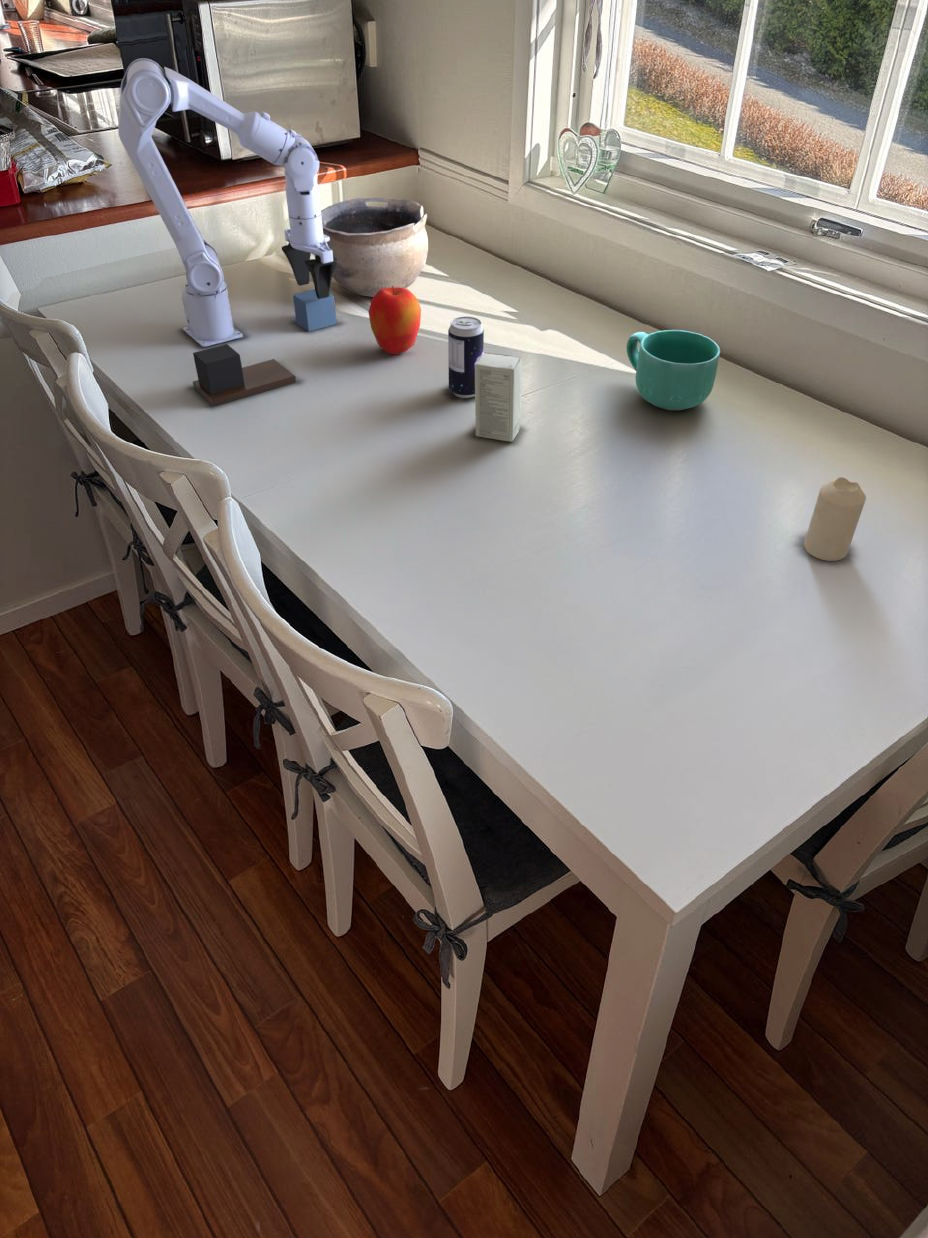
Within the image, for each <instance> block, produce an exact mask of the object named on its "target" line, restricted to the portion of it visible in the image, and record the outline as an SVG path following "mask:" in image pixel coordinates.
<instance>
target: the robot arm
mask: <svg viewBox="0 0 928 1238" xmlns="http://www.w3.org/2000/svg"><path fill="white" fill-rule="evenodd" d="M163 67H164V68H162V66H161V65H159V63H158V62H156V61H154V60H152V59H150V58H144V57H142V58H137V59H134V60H133V61H132V62H130V64H129V65H128V66H127V69H126V71H125V73H124V75H123V77H122V80H121V82H120V83H121V84H120V94H119V95H120V96H119V111H118V126H117V128H118V129H117V131H118V138H119V141H120V142H121V144H122V146H123V148H124V150H125V151H126V154H127V156H128V158H129V159H130V161H131V163H132V165H133V166H134V168H135V171H136V172H137V175H138V176H139V178H140V180H141V182H142V184H143V186H144V188H145V189H146V191H147V193H148V195H149V197H150V199H151V201H152V203H153V204H154V206H155V209H156V210H157V212H158V214H159V216H160V218H161V220H162V222H163V224H164V226H165V227H166V230H167V231H168V233H169V235H170V237H171V238H172V241H173V242H174V245H175V247H176V250H177V253H178V254H179V257H180V260H181V262H182V264H183V267H184V272H185V280H186V283H185V284H184V286H183V289H182V291H181V300H182V305H183V310H184V316H185V319H186V324H187V325H186V326H184V327H182V330H183V332H185V333H186V334H187V335H188V336H189V337H190V338H191V339H193V340H194V341H195V342H196V343H197V344H199V345H200V346H201V347H203V348H207V347H210V346H213V345H218V344H221V343H225V342H229V341H233V340H236V339H240V338H243V336H244V335H243V333H242V332H240V331H239V330H238V329H237V328H236V327H234V323H233V315H232V310H231V304H230V299H229V292H228V291H229V290H228V287H227V282H226V281H225V280H224V272H223V269H222V267H221V265H220V260H219V255H218V252H217V251H216V249H215V248H214V247H213V246H212V245H211V244H210V243H208V242H207V240H206V239H205V238H204V236H203V235H202V233H201V231H200V229H199V228H198V227H197V225H196V222H195V220H194V219H193V217H192V215H191V212H190V211H189V209H188V207H187V205H186V203H185V200H184V199H183V198H182V194H181V193H180V191H179V189H178V187H177V184H176V183H175V181H174V179H173V177H172V175H171V173H170V170H169V168H168V167H167V165H166V163H165V161H164V159H163V157H162V155H161V153H160V151H159V150H158V149H159V148H158V147H157V145H156V143H155V141H154V139H153V138H152V136H153V133H154V130H155V127H156V124H157V121H158V120H159V118H161V116H162V115H163V114H164V113H165V111H166V110H167V109H168V107H169V105H170V107H171V111H172V112H175V113H176V112H181V111H186V110H191V111H194V112H195V113H197V114H199V115H201V116H203V117H205V118H206V119H209V120H210V121H212V122H214V123H217V124H218V125H220V126H221V127H223V128H225V129H227V130H229V131H231V132H232V133H235V134H236V136H237V139H238V142H239V144H240V146H241V147H243V148H245V149H246V150H248V151H250V152H252V153H253V154H255V155H257V156H259V157H261V158H262V159H264V160H266V162H269V163H271V164H273V166H274V165H275V166H282V167H283V168H284V178H285V179H284V180H285V187H284V188H285V198H286V205H287V215H288V222H289V228H287V229H284V230H283V231H284V239H285V241H286V242H287V244H286V245H282V246H281V251H282V253H283V254H284V256H285V257H286V260H287V261H288V263H289V265H290V267H291V270H292V273H293V276H294V279H295V282H296V284H297V286H299V287H301V286H302V287H303V286H305V285H310V279H311V278H312V282H313V287H314V288H313V289H315V292H316V295H317V298H318V299H322V298H326V297H329V293H330V292H331V286H332V285H331V284H332V279H333V278H332V276H333V272H334V270H335V268H336V266H337V264H338V259H337V258H335V257H333V253H332V250H331V249H330V248H329V247H328V245H327V243H326V242H327V241H329V236H327V235H325V234H323V227H322V217H321V211H322V207H321V198H320V187H319V184H318V172H319V169H320V160H319V158H318V155H317V153H316V151H315V150H314V148H313V147H312V145H311V143H310V142H309V141H308V140H307V139H305V138H304V137H303V135H301V134H300V133H299V134H298V133H297V132H296V131H295V130H293V129H292V128H290V129H289V130H287V129H286V128H285V127H283V126H281V125H279V124H277V123H276V122H274V121H273V120H271V116H270V114H268V113H267V112H266V111H263V110H262V111H261V113H259V112H258V111H255V110H253V111H250V112H246V113H244V112H241V111H239V110H238V109H236V108H235V107H234V106H232V105H230V104H229V103H227V102H226V101H224V100H223V99H221V98H219V97H218V96H216V95H215V94H213V93H212V92H210V91H209V90H207V89H205V88H204V87H202V86H201V85H199V84H198V83H196V82H194V81H193V80H192V79H189V78H188V77H186V76H184V75H182V74H181V73H180V72H177V71H175V70H174V69H171V68H169V67H166V66H163ZM312 255H313V256H314V258H311V256H312Z"/></svg>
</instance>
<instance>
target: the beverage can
mask: <svg viewBox="0 0 928 1238" xmlns="http://www.w3.org/2000/svg"><path fill="white" fill-rule="evenodd" d="M447 331H448V332H447V334H448V335H447V339H448V341H447V344H448V345H447V349H448V351H447V352H448V353H447V355H448V356H447V357H448V358H447V359H448V361H447V362H448V390H449V391H450V392H451V393H453V395H454V396H455V397H458V398H461V399H471V398H475V363H476V361H477V360H478V359H479V357H480V356H481V355H482V354H483V353H484V349H485V348H484V344H485V330H484V327H483V326H482V321H481V320H480V319H479V318H477V317H473V316H458V317H455V318H453V319H452V320H451V321H450V326H449V327H448V330H447Z"/></svg>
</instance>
